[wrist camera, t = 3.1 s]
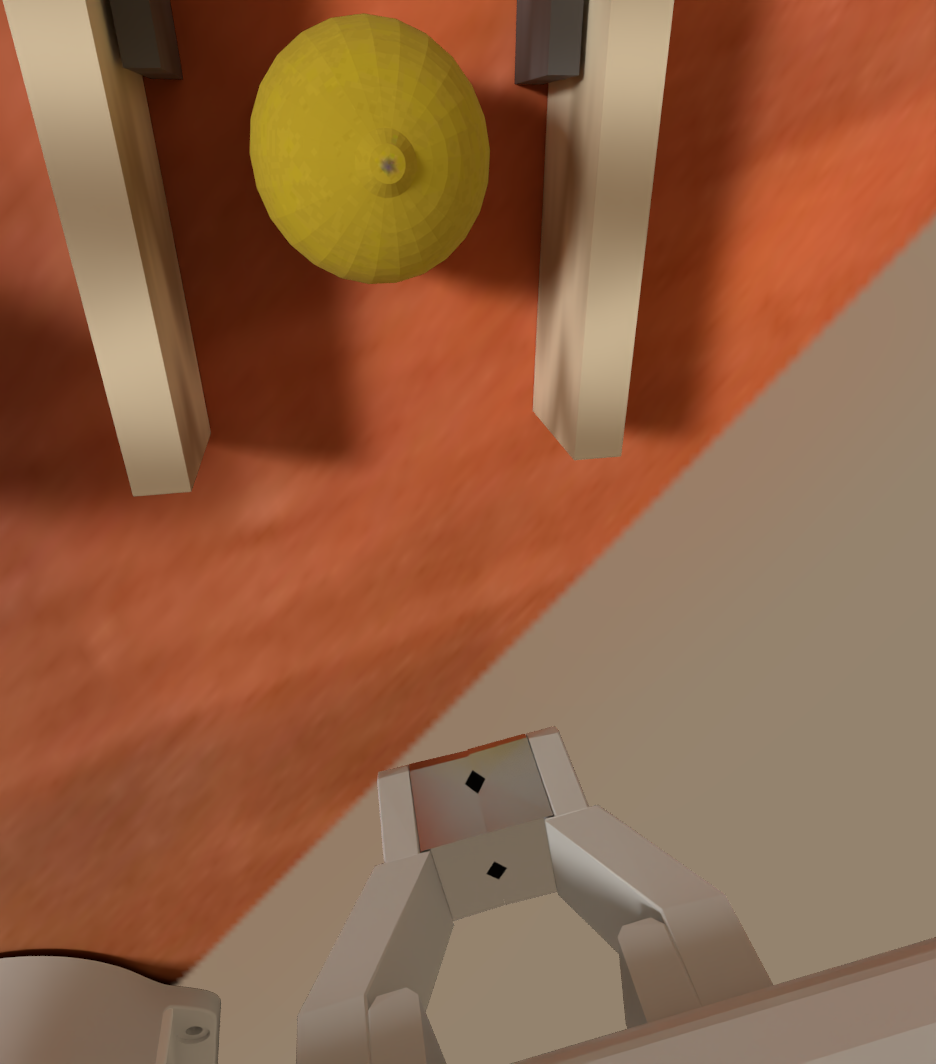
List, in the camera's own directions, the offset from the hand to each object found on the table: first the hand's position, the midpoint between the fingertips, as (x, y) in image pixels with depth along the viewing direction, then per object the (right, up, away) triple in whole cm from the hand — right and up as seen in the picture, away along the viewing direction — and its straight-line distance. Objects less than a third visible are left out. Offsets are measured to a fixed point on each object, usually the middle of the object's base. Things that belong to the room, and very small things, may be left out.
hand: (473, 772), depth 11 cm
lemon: (-3, +15, +9) cm, 18 cm away
